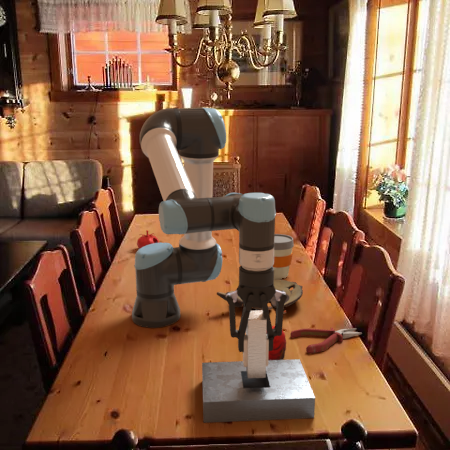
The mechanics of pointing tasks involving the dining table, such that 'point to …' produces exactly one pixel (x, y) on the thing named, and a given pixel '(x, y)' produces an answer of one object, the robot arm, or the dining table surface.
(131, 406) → the dining table surface
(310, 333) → the pliers
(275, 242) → the reusable coffee cup
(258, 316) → the white tall block
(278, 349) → the red clay folk toy
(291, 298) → the broken bowl
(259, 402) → the bracket head
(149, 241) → the pomegranate
